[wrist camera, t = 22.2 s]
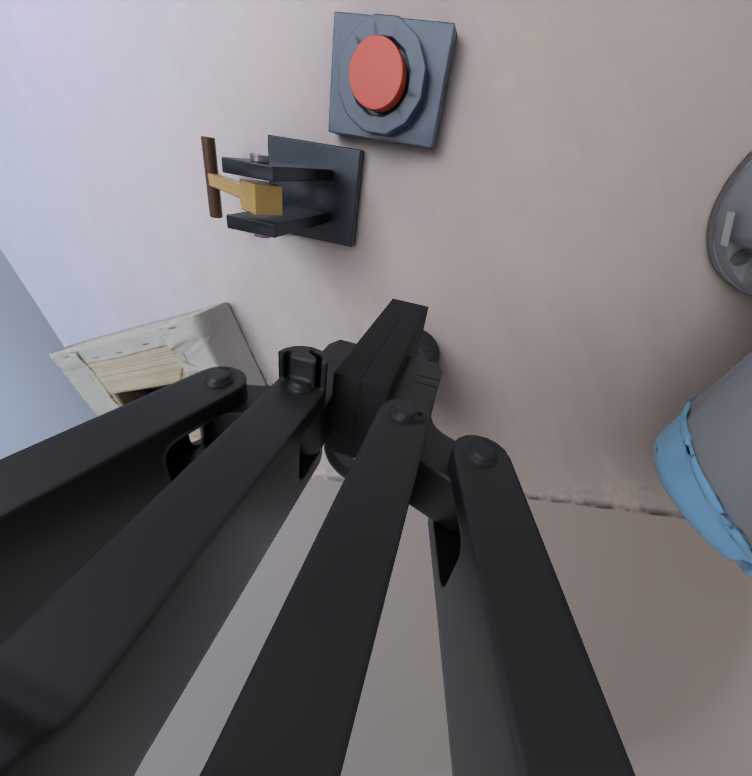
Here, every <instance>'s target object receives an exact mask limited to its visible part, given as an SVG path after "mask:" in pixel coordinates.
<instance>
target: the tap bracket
mask: <svg viewBox="0 0 752 776" xmlns="http://www.w3.org/2000/svg"><path fill="white" fill-rule="evenodd" d="M268 153H269V156H265V155H259V154H252V153H251V154H250V159H240V158H227V157H222V168H223V172H225V173H230V174H235V175H241V176H246V177H252V178H257V179H262V180H268V181H269V182H270V183H273V184H276V185H279V186H282V216H268V215H255V214H253V213H250V212H243V213H236V214H229V215H227V225H228V228H232V229H236V230H241V231H246V232H250V233H254V235H255V236H257V237H261V238H270V237H274V238H275V237H279V236H283V235H286V234H293V235H298V236H303V237H307V238H312V239H317V240H322V241H327V242H331V243H336V244H341V245H346V246H350V247H351V246H353V245H355V237H356V226H357V216H358V206H359V196H360V185H361V175H362V165H363V154H364V151H363V150H358V149H352V148H346V147H340V146H333V145H327V144H321V143H315V142H309V141H303V140H296V139H290V138H284V137H278V136H272V135H268Z"/></svg>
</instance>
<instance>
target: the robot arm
mask: <svg viewBox="0 0 752 776" xmlns="http://www.w3.org/2000/svg"><path fill="white" fill-rule="evenodd" d="M707 247H708V253H709V257H710V260H711V262H712V264H713V267H714V268H715V270H716V271H717V273H718V274H719V275H720V276H721V277H722V278H723V279H724V280H725V281H726V282H727V283H729V284H730V285H732V286H733V287H735V288H737V289H739V290H741V291H743V292H745V293H747V294H750V295H752V151H751V152H750V153H749V154H748V155H747V157H746V158H745V159H744V160H743V161H742V162H741V164H740V165H739V166H738V167H737V168H736V170H735V171H734V172H733V174H732V175H731V176H730V178H729V179H728V181H727V182H726V184H725V186H724V187H723V189H722V191H721V193H720V194H719V196H718V198H717V201H716V203H715V205H714V207H713V210H712V213H711V216H710V220H709V224H708V231H707ZM427 311H428V307H426V306H422V305H418V304H413V303H409V302H405V301H400V300H396V299H392V301H391V302H390V303H389V304H388V306H387V307H386V308H385V309H384V311H383V312H382V313H381V314H380V316H379V317H378V318H377V319H376V321H375V322H374V323H373V324H372V326H371V327H370V328H369V329H368V331H367V332H366V333H365V334H364V336H363V337H362V338H361V339H360V340H359V342H358V343H357V344H355V343H351V342H347V341H343V340H339V341H336V342H334V343H331V344H329V345H328V346H327V347H326V348H325V349H324V350H323V352H322V351H321V350H318V349H316V348H313V347H306V346H293V347H288V348H285V349H283V350H281V351H279V379H278V380H277V381H276V382H275V383H274V384H273V385H272V386H261V385H247V379H246V376H245V373H243V372H242V371H241V370H239V369H236V368H233V367H227V366H226V367H225V366H219V367H211V368H208V369H205V370H202V371H200V372H197V373H195V374H193V375H190V376H188V377H186V378H184V379H181V380H179V381H177V382H175V383H172V384H170V385H168V386H166V387H163V388H161V389H159V390H157V391H154V392H152V393H150V394H148V395H145V396H143V397H141V398H139V399H136V400H134V401H132V402H129V403H127V404H125V405H123V406H120V407H118V408H116V409H114V410H111V411H109V412H107V413H105V414H102V415H100V416H98V417H96V418H93V419H91V420H89V421H87V422H84V423H82V424H80V425H78V426H75V427H73V428H71V429H69V430H66V431H64V432H62V433H59V434H57V435H55V436H53V437H50V438H48V439H46V440H44V441H42V442H39V443H37V444H35V445H33V446H30V447H28V448H26V449H24V450H21V451H19V452H17V453H14V454H12V455H10V456H8V457H5V458H3V459H1V460H0V776H134V775H135V773H136V771H137V769H138V767H139V765H140V764H141V762H142V760H143V758H144V757H145V755H146V753H147V751H148V750H149V748H150V746H151V745H152V743H153V741H154V740H155V738H156V736H157V735H158V733H159V731H160V730H161V728H162V726H163V725H164V723H165V721H166V720H167V718H168V716H169V715H170V713H171V711H172V709H173V708H174V706H175V704H176V703H177V701H178V699H179V698H180V696H181V694H182V693H183V691H184V689H185V688H186V686H187V684H188V682H189V681H190V679H191V678H192V676H193V674H194V673H195V671H196V669H197V667H198V666H199V664H200V662H201V661H202V659H203V657H204V655H205V654H206V652H207V651H208V649H209V647H210V646H211V644H212V642H213V641H214V639H215V637H216V636H217V634H218V632H219V630H220V629H221V627H222V626H223V624H224V622H225V620H226V619H227V617H228V615H229V614H230V612H231V610H232V609H233V607H234V605H235V604H236V602H237V600H238V599H239V597H240V595H241V593H242V592H243V590H244V589H245V587H246V585H247V583H248V581H249V580H250V578H251V577H252V575H253V573H254V572H255V570H256V568H257V567H258V565H259V563H260V562H261V560H262V558H263V557H264V555H265V553H266V551H267V550H268V548H269V547H270V545H271V543H272V542H273V540H274V538H275V537H276V535H277V533H278V531H279V529H280V528H281V526H282V525H283V523H284V521H285V520H286V518H287V516H288V515H289V513H290V511H291V510H292V508H293V506H294V505H295V503H296V501H297V500H298V498H299V496H300V494H301V492H302V491H303V489H304V488H305V486H306V484H307V482H308V481H309V479H310V478H311V476H312V474H313V473H314V471H315V469H316V468H317V466H318V464H319V463H320V460H321V456H322V446H323V445H324V443H325V442H326V440H327V438H328V449H327V450H330V451H333V452H336V453H339V454H343V455H346V456H349V457H352V458H355V459H354V461H353V463H352V465H351V467H350V469H349V471H348V473H347V475H346V477H345V480H344V482H343V484H342V486H341V488H340V490H339V492H338V494H337V496H336V498H335V500H334V502H333V504H332V506H331V508H330V510H329V512H328V514H327V517H326V518H325V521H324V523H323V525H322V527H321V529H320V531H319V533H318V535H317V537H316V539H315V541H314V543H313V545H312V547H311V549H310V551H309V554H308V555H307V557H306V560H305V562H304V564H303V566H302V568H301V570H300V572H299V574H298V576H297V578H296V580H295V582H294V584H293V586H292V588H291V590H290V592H289V594H288V596H287V598H286V601H285V603H284V605H283V607H282V609H281V611H280V613H279V615H278V617H277V619H276V621H275V623H274V625H273V627H272V629H271V631H270V633H269V635H268V637H267V640H266V641H265V644H264V646H263V648H262V650H261V652H260V654H259V656H258V658H257V660H256V662H255V664H254V666H253V668H252V670H251V672H250V674H249V676H248V678H247V681H246V682H245V685H244V687H243V689H242V691H241V693H240V695H239V697H238V699H237V701H236V703H235V705H234V707H233V709H232V711H231V713H230V715H229V717H228V719H227V721H226V724H225V726H224V728H223V730H222V732H221V734H220V736H219V738H218V740H217V742H216V744H215V746H214V748H213V750H212V752H211V754H210V756H209V758H208V760H207V762H206V764H205V766H204V768H203V770H202V772H201V774H200V776H340V774H341V771H342V767H343V763H344V759H345V755H346V751H347V747H348V743H349V739H350V735H351V731H352V728H353V724H354V720H355V716H356V712H357V708H358V704H359V700H360V696H361V692H362V688H363V684H364V680H365V676H366V672H367V668H368V664H369V660H370V656H371V652H372V649H373V645H374V641H375V637H376V633H377V628H378V625H379V621H380V616H381V613H382V609H383V605H384V601H385V597H386V593H387V589H388V585H389V581H390V577H391V573H392V570H393V566H394V562H395V558H396V554H397V550H398V546H399V542H400V538H401V534H402V530H403V526H404V522H405V518H406V514H407V510H408V506H409V504H410V505H411V506H413V507H414V508H416V509H417V510H419V511H420V512H422V513H423V514H425V515H426V516H428V517H429V518H428V527H429V537H430V547H431V557H432V567H433V577H434V588H435V598H436V609H437V619H438V629H439V640H440V650H441V660H442V670H443V681H444V689H445V690H444V691H445V701H446V711H447V721H448V731H449V742H450V752H451V761H452V762H451V763H452V772H453V776H635V773H634V771H633V768H632V766H631V763H630V761H629V758H628V756H627V753H626V751H625V748H624V746H623V743H622V741H621V738H620V735H619V733H618V730H617V728H616V725H615V723H614V720H613V718H612V715H611V713H610V710H609V708H608V705H607V703H606V700H605V698H604V695H603V692H602V690H601V687H600V685H599V682H598V680H597V677H596V675H595V672H594V670H593V667H592V665H591V662H590V659H589V657H588V654H587V652H586V649H585V647H584V644H583V642H582V639H581V637H580V634H579V632H578V629H577V627H576V624H575V622H574V619H573V616H572V614H571V611H570V609H569V606H568V604H567V601H566V599H565V596H564V594H563V591H562V589H561V586H560V583H559V581H558V579H557V576H556V573H555V571H554V568H553V566H552V563H551V561H550V558H549V556H548V553H547V551H546V548H545V545H544V543H543V540H542V538H541V536H540V533H539V530H538V528H537V525H536V523H535V520H534V518H533V515H532V513H531V510H530V507H529V505H528V503H527V500H526V497H525V495H524V492H523V490H522V487H521V485H520V482H519V480H518V477H517V475H516V472H515V469H514V467H513V464H512V462H511V459H510V457H509V456H508V454H507V453H506V451H505V450H504V449H503V448H502V447H501V446H499V445H498V444H497V443H495V442H493V441H491V440H489V439H488V438H485V437H481V436H477V435H466V436H463V437H460V438H458V439H457V440H456V441H455V440H453V439H451V438H449V437H447V436H446V435H444V434H443V433H441V432H440V431H439V430H438V429H437V428H436V427H435V425H434V424H433V422H432V419H431V413H432V409H433V405H434V401H435V397H436V393H437V389H438V385H439V381H440V377H441V373H442V372H441V370H440V368H439V366H438V364H437V363H433V362H429V361H426V360H422V359H418V358H417V354H418V350H419V346H420V341H421V337H422V333H423V328H424V324H425V320H426V315H427ZM198 428H199V429H200V434H201V438H200V439H199V440H196V441H194V442H191V441H190V437H189V434H190V433H192V432H193V431H195V430H197V429H198ZM654 457H655V467H656V470H657V473H658V476H659V478H660V480H661V482H662V484H663V486H664V488H665V490H666V492H667V493H668V495H669V496H670V498H671V499H672V501H673V502H674V504H675V505H676V507H677V508H678V509H679V511H680V512H681V513H682V514H683V516H684V517H685V518H686V520H687V521H688V522H689V523H690V524H691V525H692V526H693V528H694V529H695V530H696V531H697V532H698V533H699V534H700V535H701V536H702V537H703V538H704V539H705V540H706V541H707V542H708V543H709V544H710V545H711V546H712V547H713V548H714V549H715V550H717V551H718V552H719V553H720V554H721V555H722V556H724V557H725V558H726V559H728V560H732V561H736V562H737V564H738V565H739V566H740V568H741V569H742V570H743V572H745V573H747V574H748V575H749V576H751V577H752V351H751V352H750V353H748V354H747V355H746V356H745V357H744V358H743V359H742V360H740V361H739V362H738V363H737V364H736V365H735V366H734V367H732V368H731V369H730V370H729V371H728V372H727V373H725V374H724V375H723V376H722V377H721V378H719V379H718V380H717V381H716V382H715V383H714V384H712V385H711V386H710V387H709V388H708V389H706V390H705V391H704V392H703V393H702V394H701V395H699V396H697V397H695V398H693V399H692V400H690V401H689V402H687V403H686V405H685V406H684V408H683V410H682V412H681V413H680V414H679V415H678V416H677V417H676V418H675V419H674V420H673V421H672V422H671V423H670V424H669V425H668V426H667V427H666V428H665V429H664V430H663V431H662V432H661V433H660V434H659V436H658V437H657V439H656V441H655V444H654Z"/></svg>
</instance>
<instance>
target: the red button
mask: <svg viewBox="0 0 752 776" xmlns="http://www.w3.org/2000/svg"><path fill="white" fill-rule="evenodd" d="M349 81H350V86H351V90H352V92H353V94H354V96H355V98H356V99H357V101H358V102H359V103H360V104H361V105H363V106H364V107H366V108H368V109H369V110H371V111H374V112H379V113H381V112H386V111H388V110H390V109H392V108H393V107H394V106H396V104H397V103H398V102H399V101H400V99H401V97H402V96H403V93H404V91H405V87H406V83H407V68H406V63H405V60H404V58H403V56H402V54H401V52H400V51H399V49H398V48H397V47H396V45H395V44H394V43H393V42H392V41H391V40H390V39H388V38H387V37H385V36H381V35H373V36H370V37H368V38H366V39H364V40H363V41H362V42H361V43H360V44H359V45H358V47H357V48H356V50H355V51H354V53H353V56H352V58H351V62H350V67H349Z"/></svg>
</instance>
